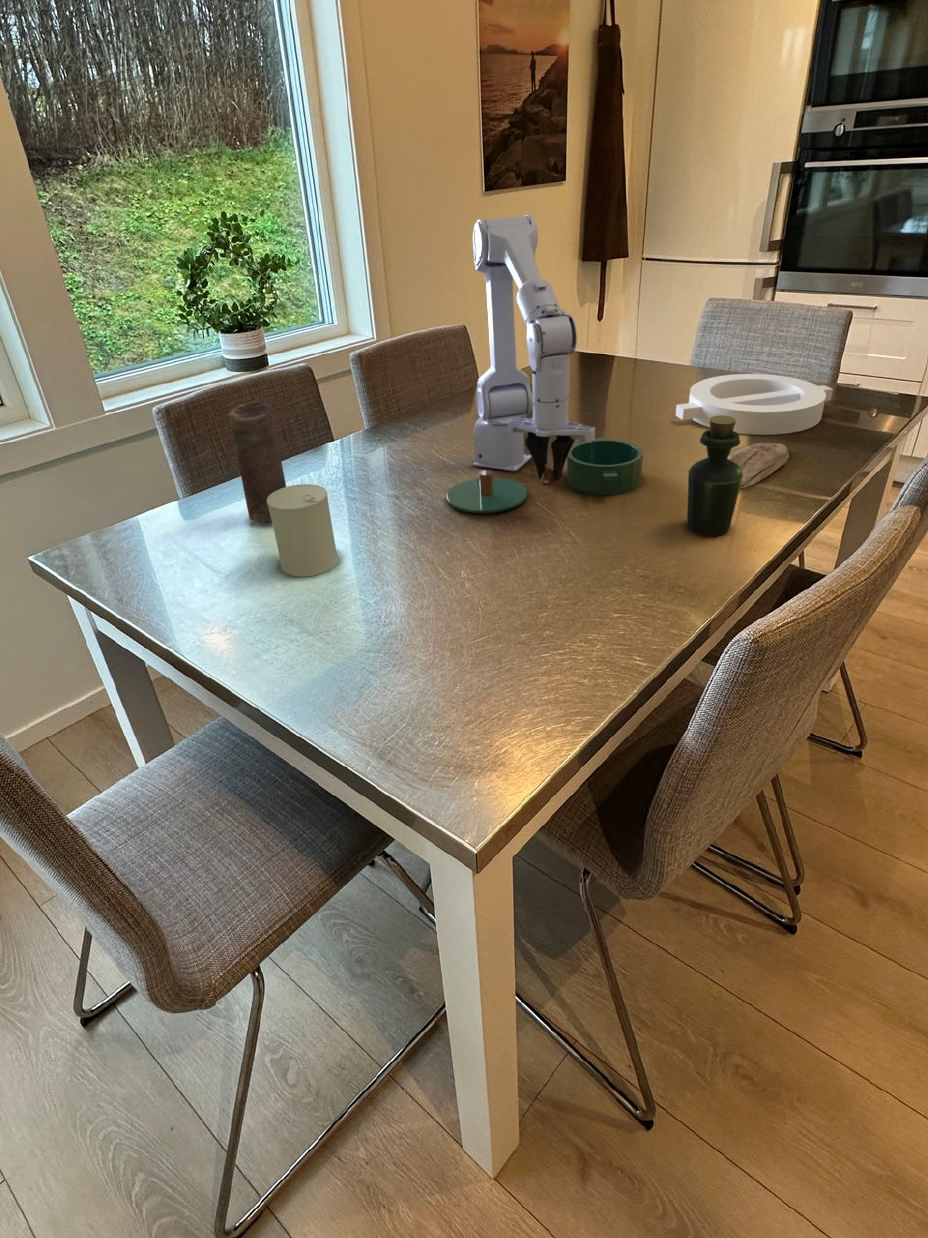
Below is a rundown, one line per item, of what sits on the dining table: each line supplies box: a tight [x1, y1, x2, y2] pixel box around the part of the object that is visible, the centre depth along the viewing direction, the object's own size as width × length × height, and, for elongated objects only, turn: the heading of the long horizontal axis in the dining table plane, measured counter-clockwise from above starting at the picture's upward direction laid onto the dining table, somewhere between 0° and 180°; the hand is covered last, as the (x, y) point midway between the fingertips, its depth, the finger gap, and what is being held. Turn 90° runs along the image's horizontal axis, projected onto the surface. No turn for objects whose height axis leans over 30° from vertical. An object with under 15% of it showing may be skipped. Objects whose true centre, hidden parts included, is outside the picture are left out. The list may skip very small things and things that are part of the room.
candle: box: [228, 401, 287, 524], centre depth 128 cm, size 8×7×20 cm
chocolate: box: [541, 460, 556, 486], centre depth 125 cm, size 3×2×4 cm
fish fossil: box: [727, 442, 790, 490], centre depth 140 cm, size 26×10×1 cm, turn 143°
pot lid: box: [446, 469, 528, 514], centre depth 134 cm, size 15×15×5 cm
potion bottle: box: [686, 415, 743, 537], centre depth 116 cm, size 8×8×18 cm
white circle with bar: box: [675, 373, 834, 436], centre depth 164 cm, size 28×28×5 cm
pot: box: [566, 437, 644, 496], centre depth 138 cm, size 14×19×6 cm
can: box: [267, 483, 340, 578], centre depth 115 cm, size 9×9×12 cm
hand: (549, 477), depth 125 cm, fingers closed on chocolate, 2 cm apart
